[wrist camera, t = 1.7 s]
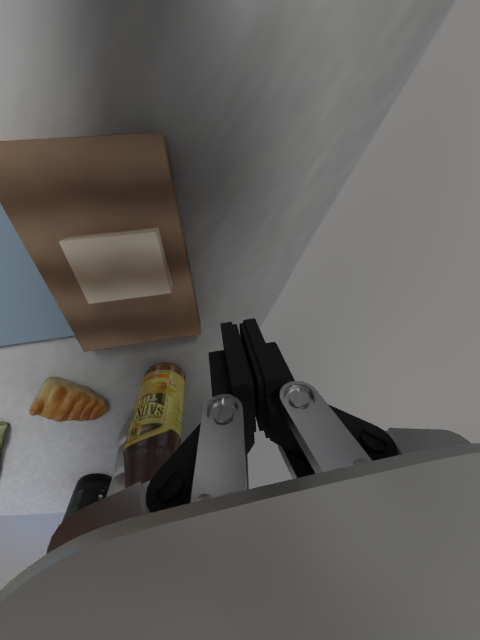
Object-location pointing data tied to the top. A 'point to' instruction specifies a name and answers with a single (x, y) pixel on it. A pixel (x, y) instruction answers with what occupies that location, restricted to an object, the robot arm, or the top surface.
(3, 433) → the washcloth
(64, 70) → the top surface
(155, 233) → the birch tile
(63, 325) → the rubber mat
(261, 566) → the robot arm
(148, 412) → the sauce bottle
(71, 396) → the pastry
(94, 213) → the walnut stand
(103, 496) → the supplement bottle
